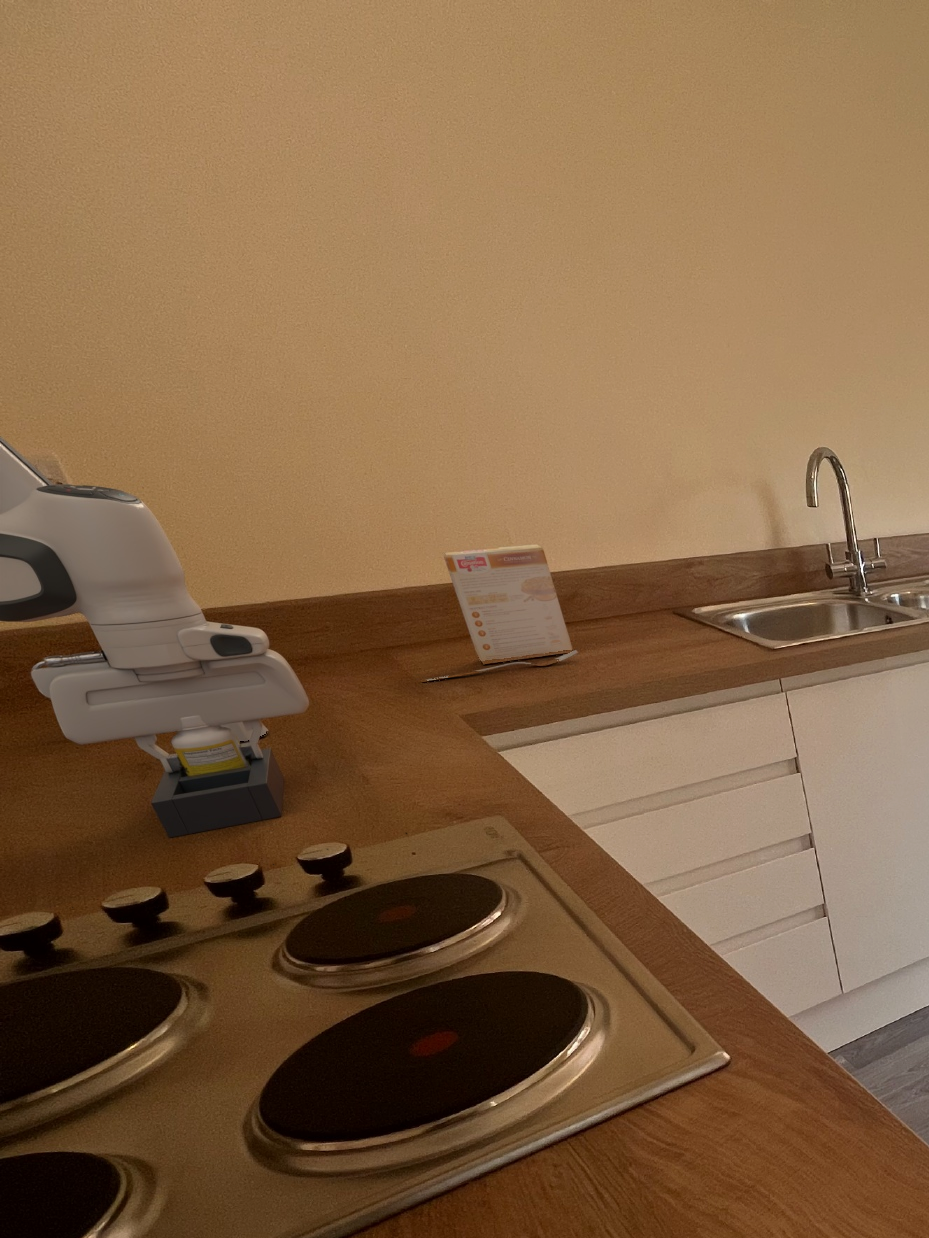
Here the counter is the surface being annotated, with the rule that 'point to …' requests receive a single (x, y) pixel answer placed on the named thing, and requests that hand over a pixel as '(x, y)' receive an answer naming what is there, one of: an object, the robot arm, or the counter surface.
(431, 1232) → the counter surface
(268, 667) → the robot arm
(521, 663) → the fork
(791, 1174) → the counter surface
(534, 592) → the coffeecake box
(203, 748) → the supplement bottle
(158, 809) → the holder
